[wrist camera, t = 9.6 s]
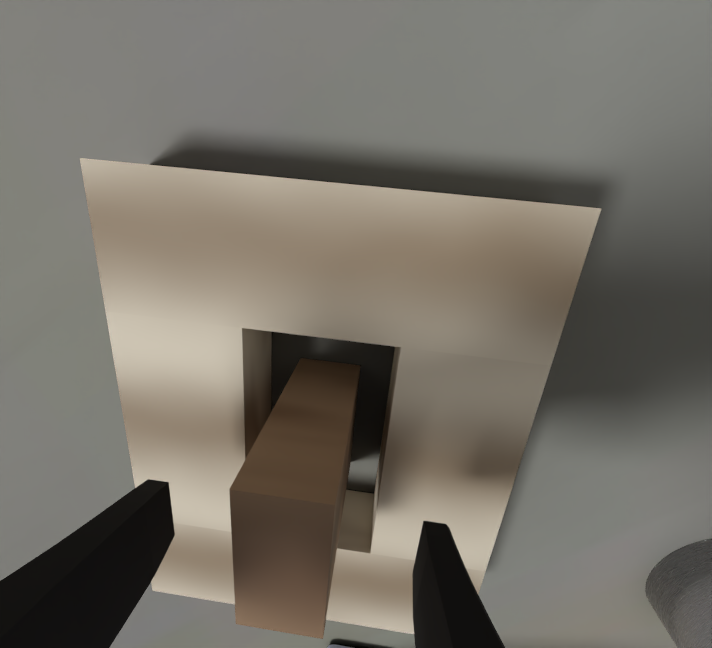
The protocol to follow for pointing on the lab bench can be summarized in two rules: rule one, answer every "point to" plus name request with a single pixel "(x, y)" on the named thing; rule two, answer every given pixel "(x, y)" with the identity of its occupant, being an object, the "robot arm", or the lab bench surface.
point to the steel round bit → (684, 594)
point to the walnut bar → (294, 501)
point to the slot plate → (334, 321)
